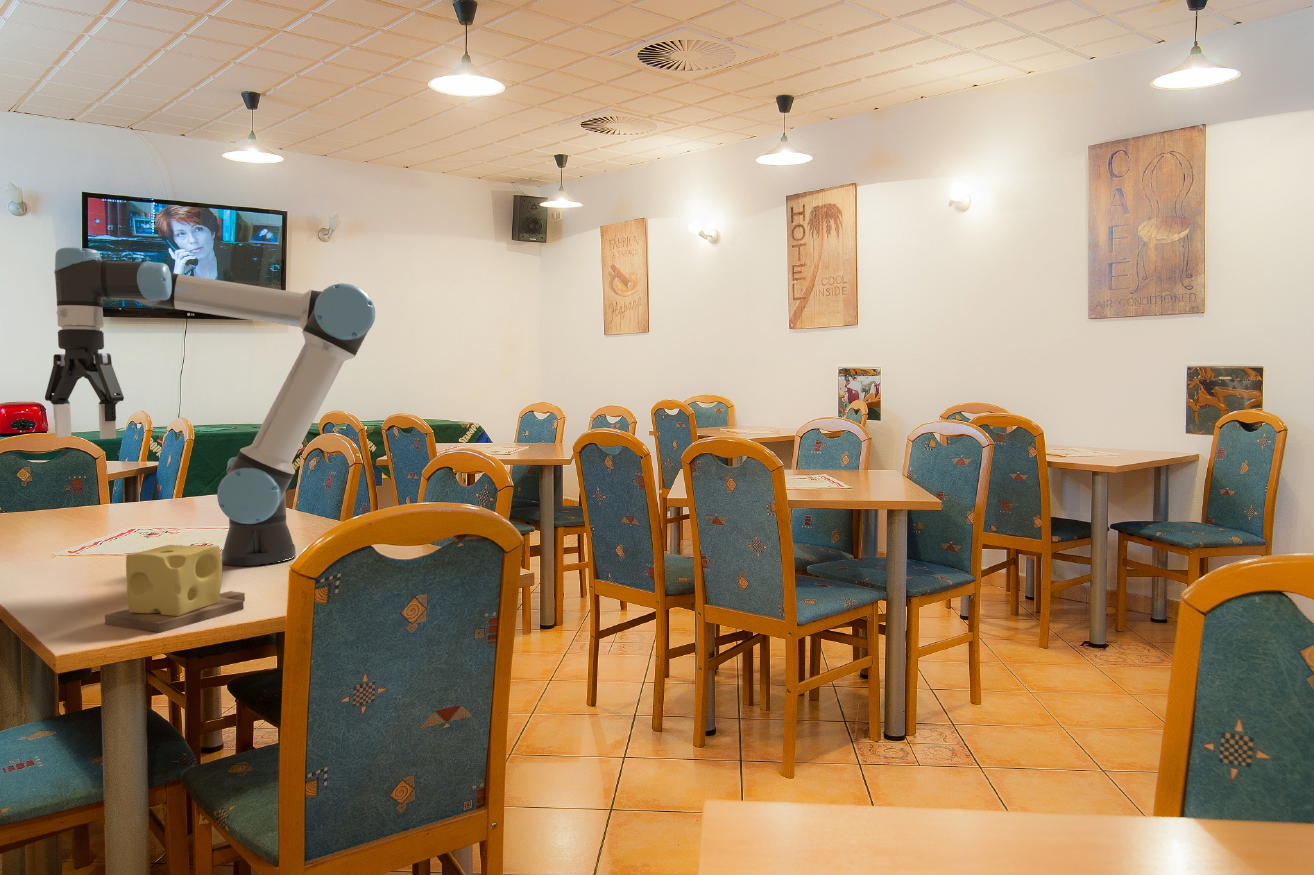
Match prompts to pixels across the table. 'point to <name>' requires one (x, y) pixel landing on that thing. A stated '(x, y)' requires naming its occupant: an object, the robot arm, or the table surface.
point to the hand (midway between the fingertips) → (85, 438)
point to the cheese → (173, 579)
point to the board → (165, 622)
